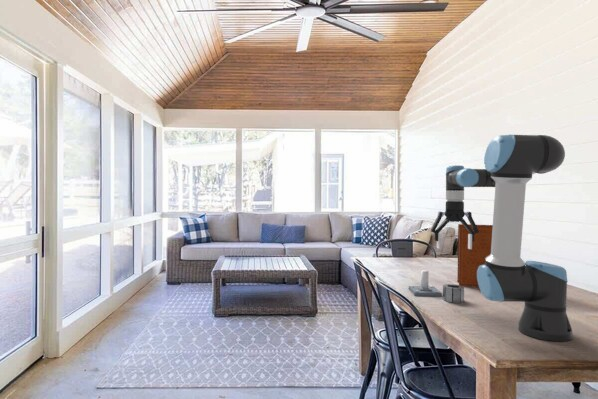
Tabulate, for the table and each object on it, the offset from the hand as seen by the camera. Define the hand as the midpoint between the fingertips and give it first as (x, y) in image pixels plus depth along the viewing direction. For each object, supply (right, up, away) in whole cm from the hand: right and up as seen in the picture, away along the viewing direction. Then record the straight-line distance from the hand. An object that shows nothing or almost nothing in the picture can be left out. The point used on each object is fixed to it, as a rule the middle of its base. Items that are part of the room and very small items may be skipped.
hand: (454, 248), depth 173 cm
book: (+23, -21, +23) cm, 39 cm away
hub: (-2, -22, -5) cm, 22 cm away
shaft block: (-11, -21, +7) cm, 25 cm away
